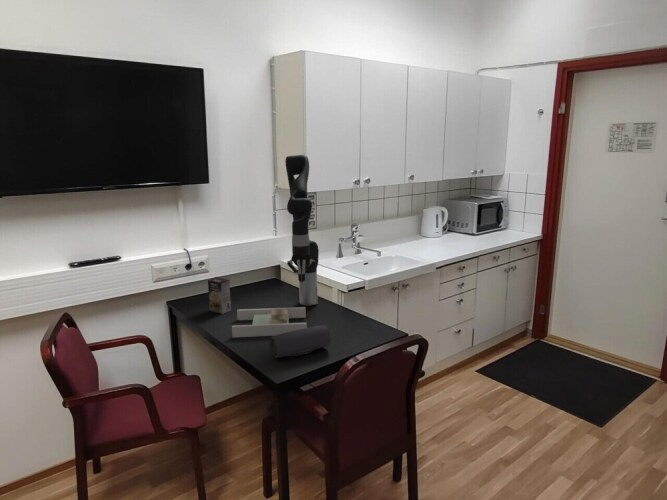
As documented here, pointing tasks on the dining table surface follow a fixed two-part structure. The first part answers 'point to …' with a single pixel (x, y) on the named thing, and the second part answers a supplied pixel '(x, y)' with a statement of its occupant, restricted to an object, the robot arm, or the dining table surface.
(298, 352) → the bluetooth speaker
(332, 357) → the dining table surface
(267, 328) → the track
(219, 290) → the coffee box
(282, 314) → the birch block
